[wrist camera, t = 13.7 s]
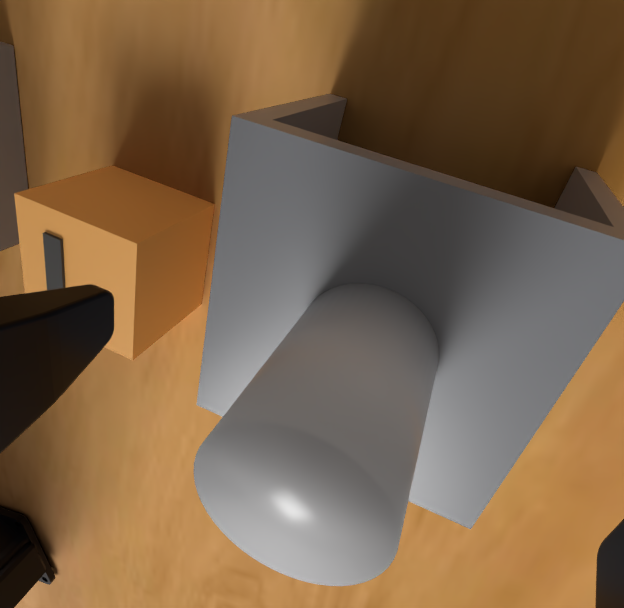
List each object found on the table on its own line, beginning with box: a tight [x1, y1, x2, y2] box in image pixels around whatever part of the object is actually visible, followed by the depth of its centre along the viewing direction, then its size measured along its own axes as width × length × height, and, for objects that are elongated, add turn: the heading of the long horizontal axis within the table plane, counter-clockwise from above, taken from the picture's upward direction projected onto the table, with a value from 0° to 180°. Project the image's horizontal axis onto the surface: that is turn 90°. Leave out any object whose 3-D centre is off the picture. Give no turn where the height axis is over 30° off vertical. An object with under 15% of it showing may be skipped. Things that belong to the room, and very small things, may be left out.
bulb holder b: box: [194, 94, 624, 586], centre depth 10 cm, size 7×7×10 cm
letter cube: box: [14, 165, 215, 360], centre depth 15 cm, size 4×4×4 cm
